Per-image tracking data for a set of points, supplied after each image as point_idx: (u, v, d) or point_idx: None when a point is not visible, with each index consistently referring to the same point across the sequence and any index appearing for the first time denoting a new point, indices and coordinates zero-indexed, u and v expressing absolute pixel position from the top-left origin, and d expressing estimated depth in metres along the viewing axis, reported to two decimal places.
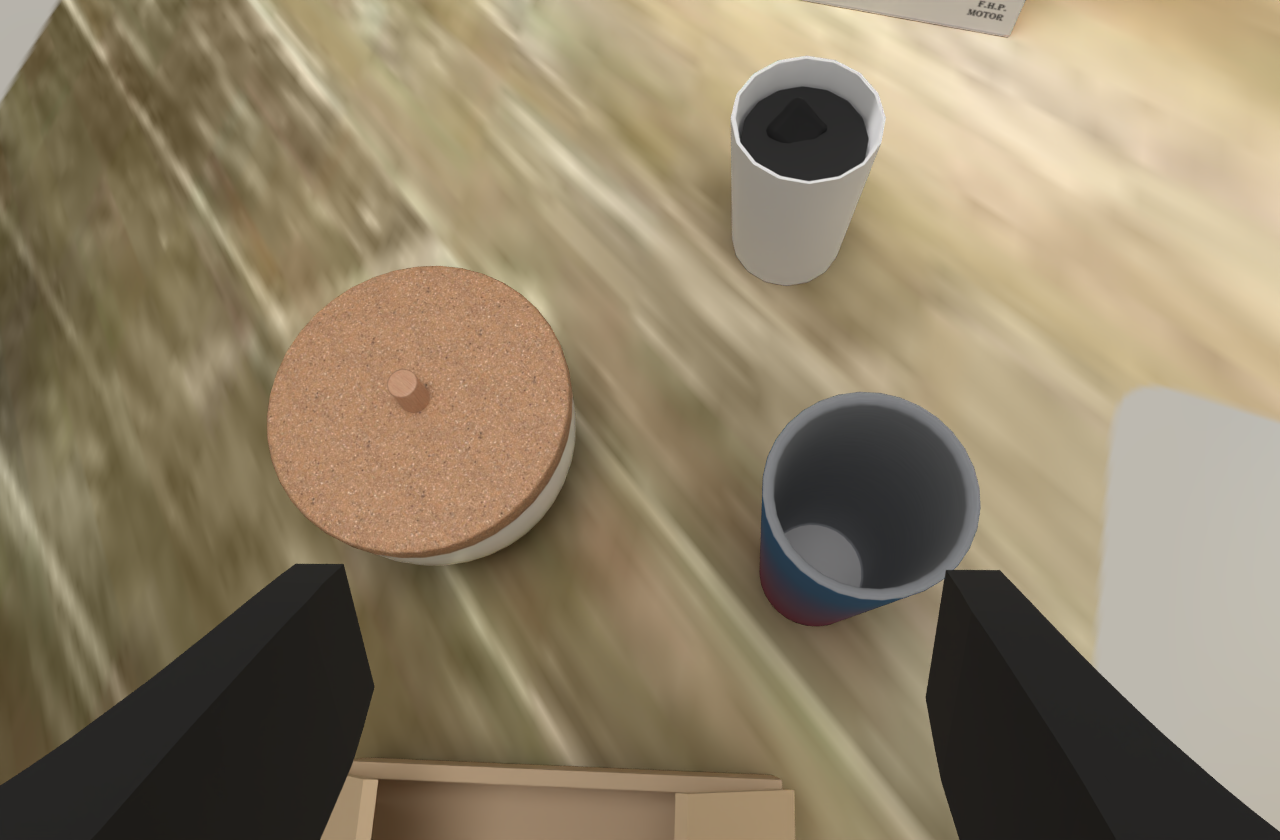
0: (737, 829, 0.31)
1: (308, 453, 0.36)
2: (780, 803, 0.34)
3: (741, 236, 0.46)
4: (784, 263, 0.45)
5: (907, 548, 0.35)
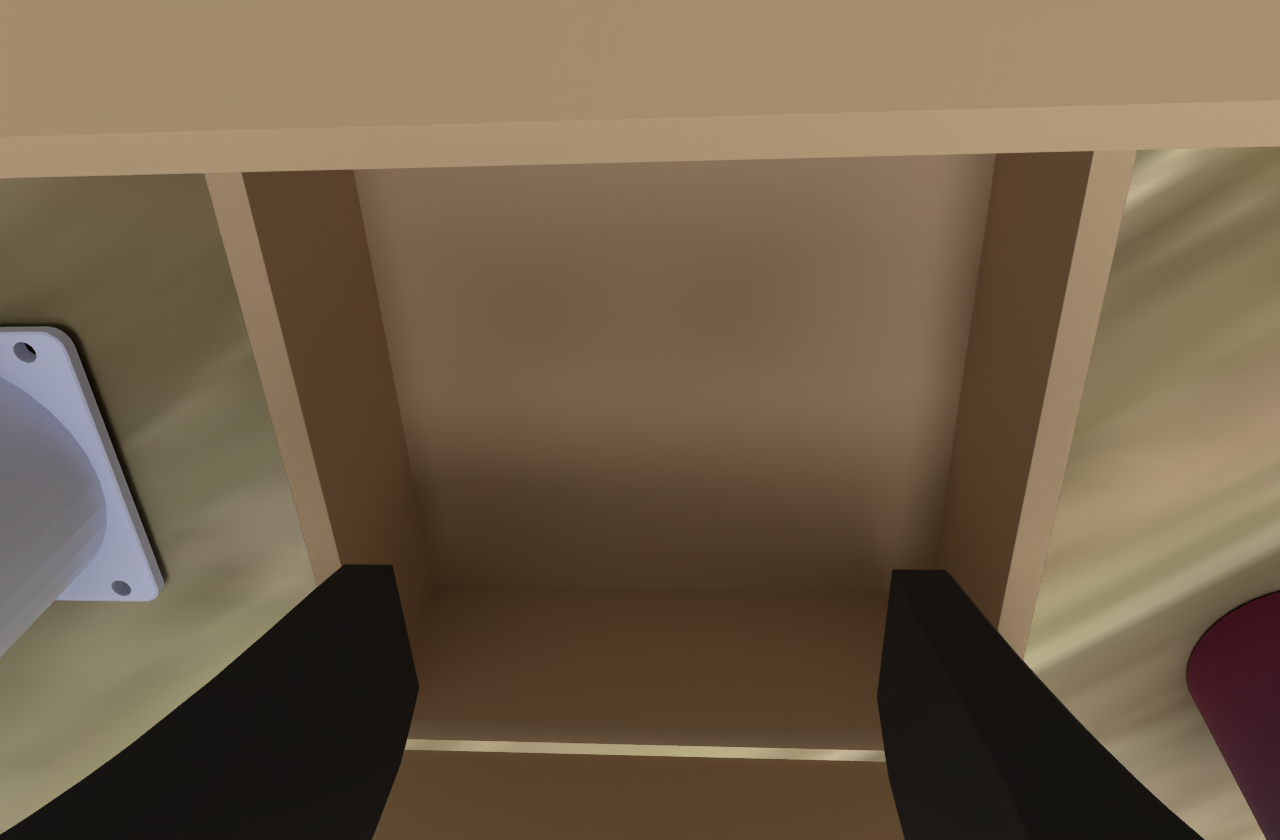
0: None
1: None
2: None
3: None
4: None
5: None
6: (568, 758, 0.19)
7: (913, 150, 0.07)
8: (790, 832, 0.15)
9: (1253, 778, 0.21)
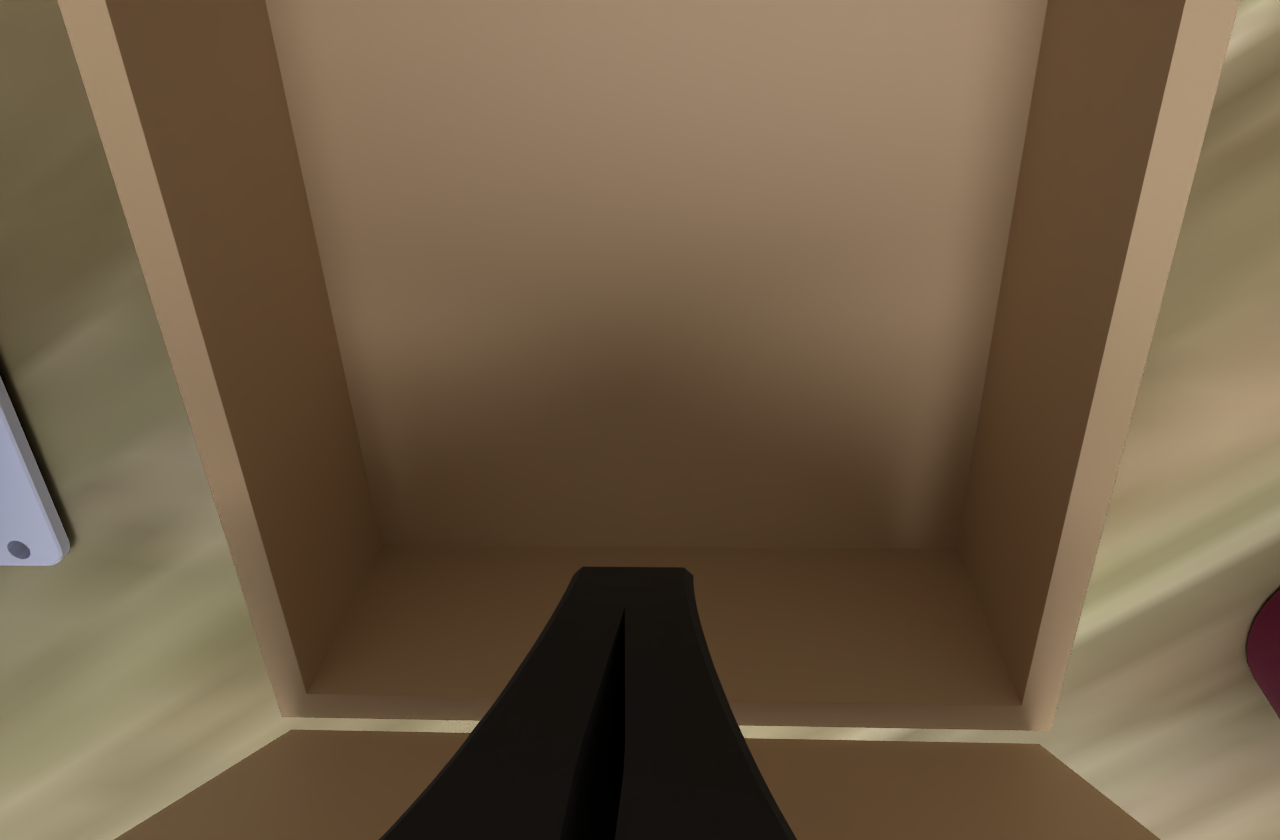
0: None
1: None
2: None
3: None
4: None
5: None
6: None
7: None
8: (805, 838, 0.12)
9: None
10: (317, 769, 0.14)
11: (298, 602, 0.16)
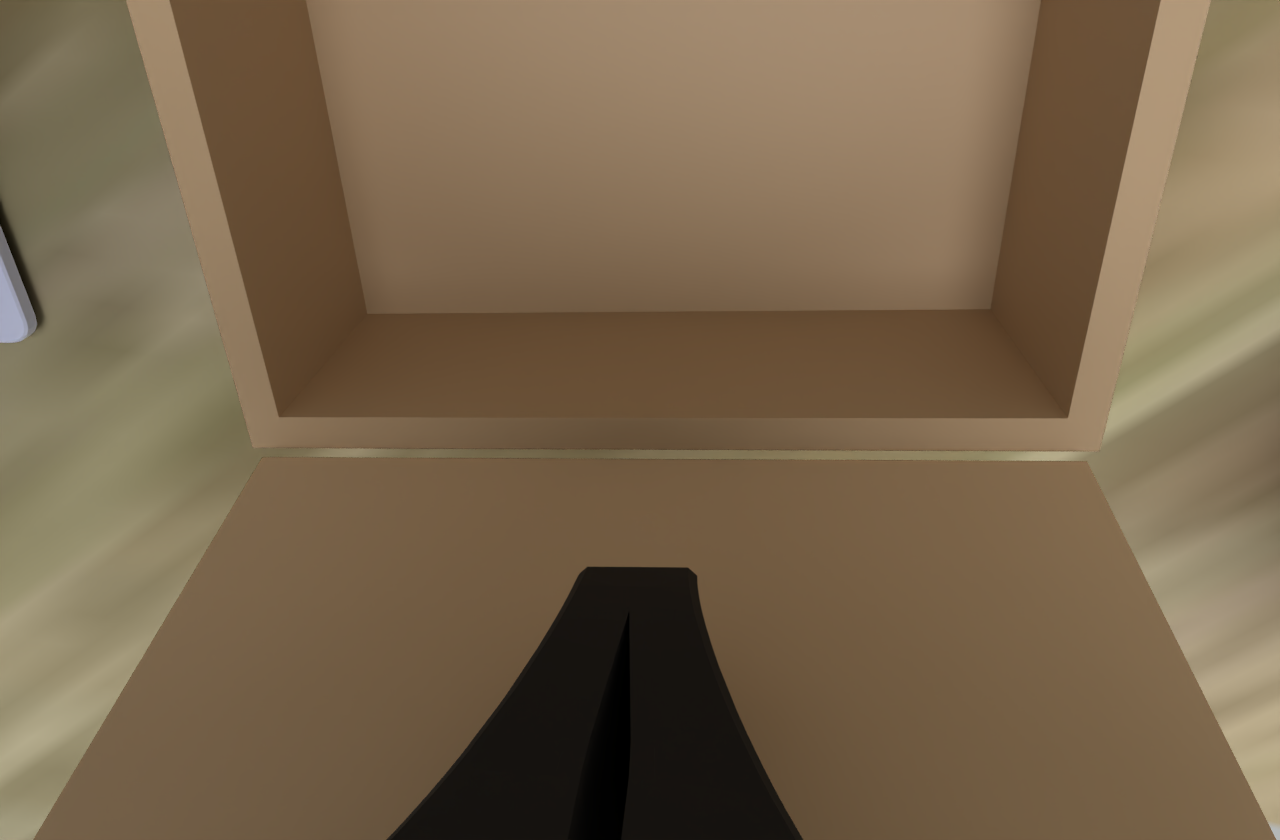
0: None
1: None
2: None
3: None
4: None
5: None
6: (525, 472, 0.15)
7: None
8: (820, 696, 0.11)
9: None
10: (298, 553, 0.13)
11: (269, 311, 0.15)
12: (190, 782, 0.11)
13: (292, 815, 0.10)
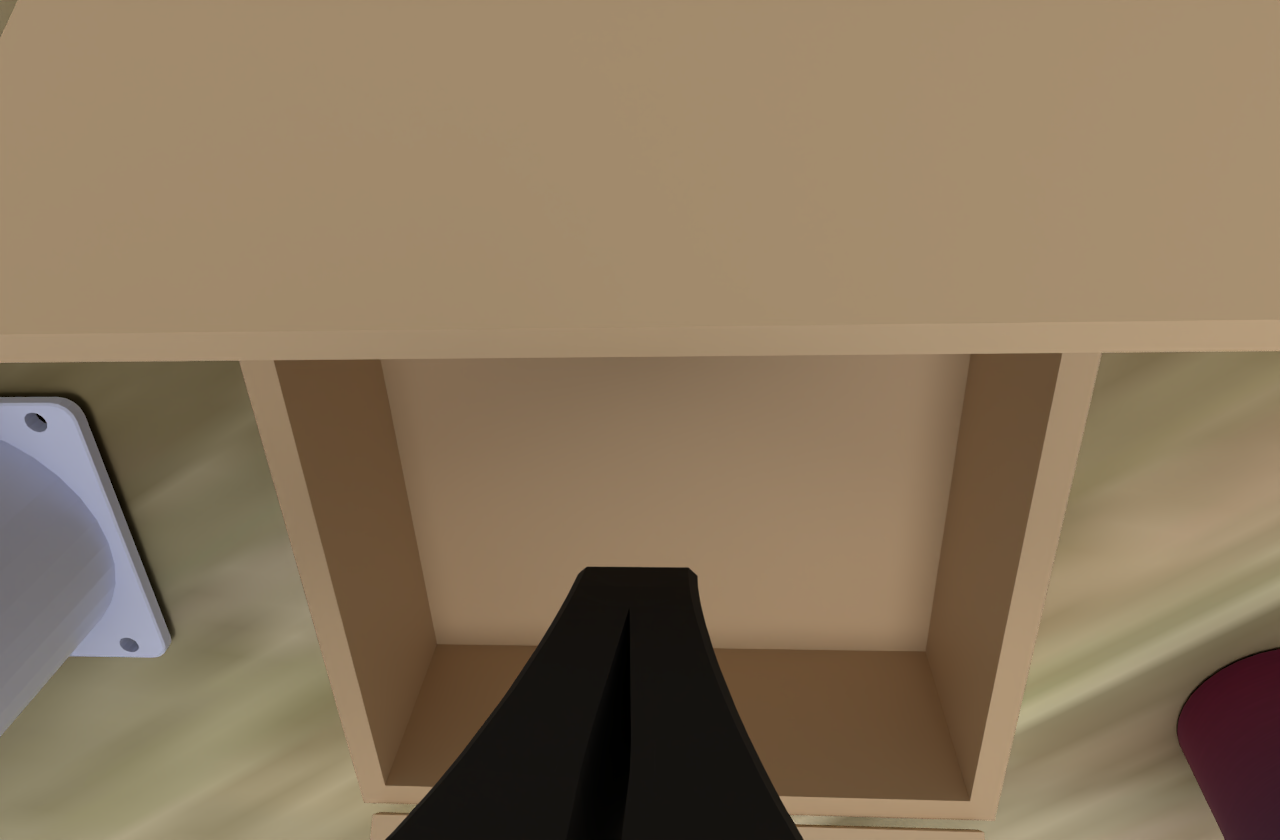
0: None
1: None
2: None
3: None
4: None
5: None
6: None
7: (899, 351, 0.08)
8: None
9: (1241, 839, 0.21)
10: None
11: (379, 712, 0.20)
12: None
13: None
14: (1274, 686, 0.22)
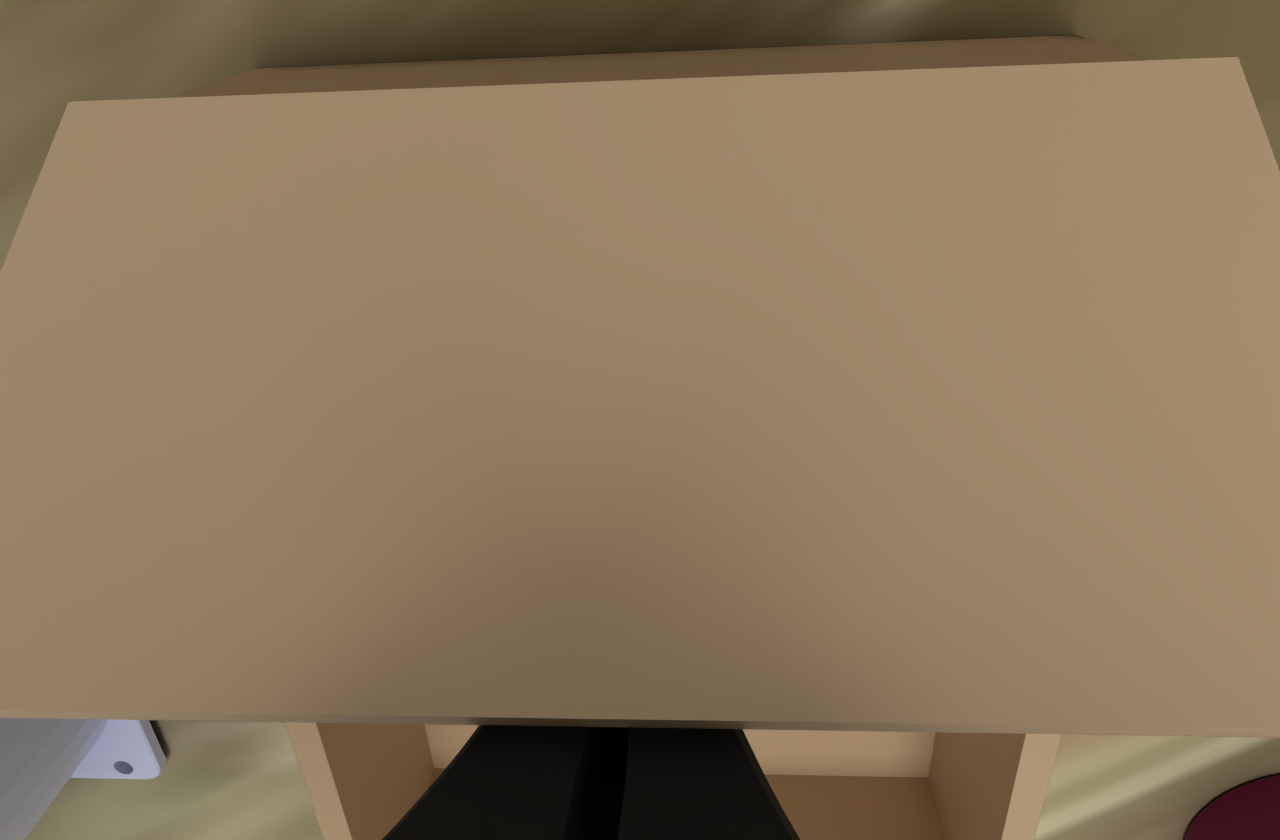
0: None
1: None
2: None
3: None
4: None
5: None
6: None
7: (903, 730, 0.08)
8: None
9: None
10: None
11: None
12: None
13: None
14: None
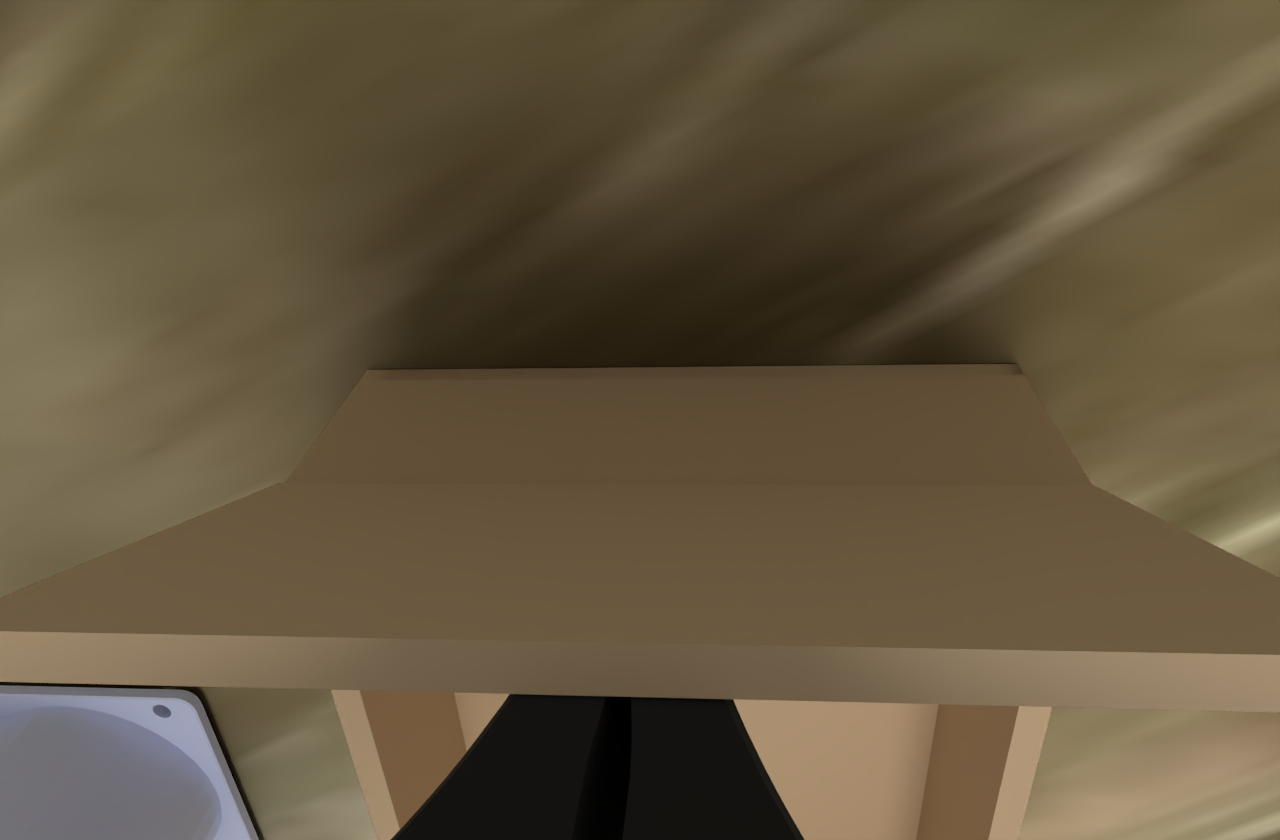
0: None
1: None
2: None
3: None
4: None
5: None
6: None
7: (911, 697, 0.08)
8: None
9: None
10: None
11: None
12: None
13: None
14: None
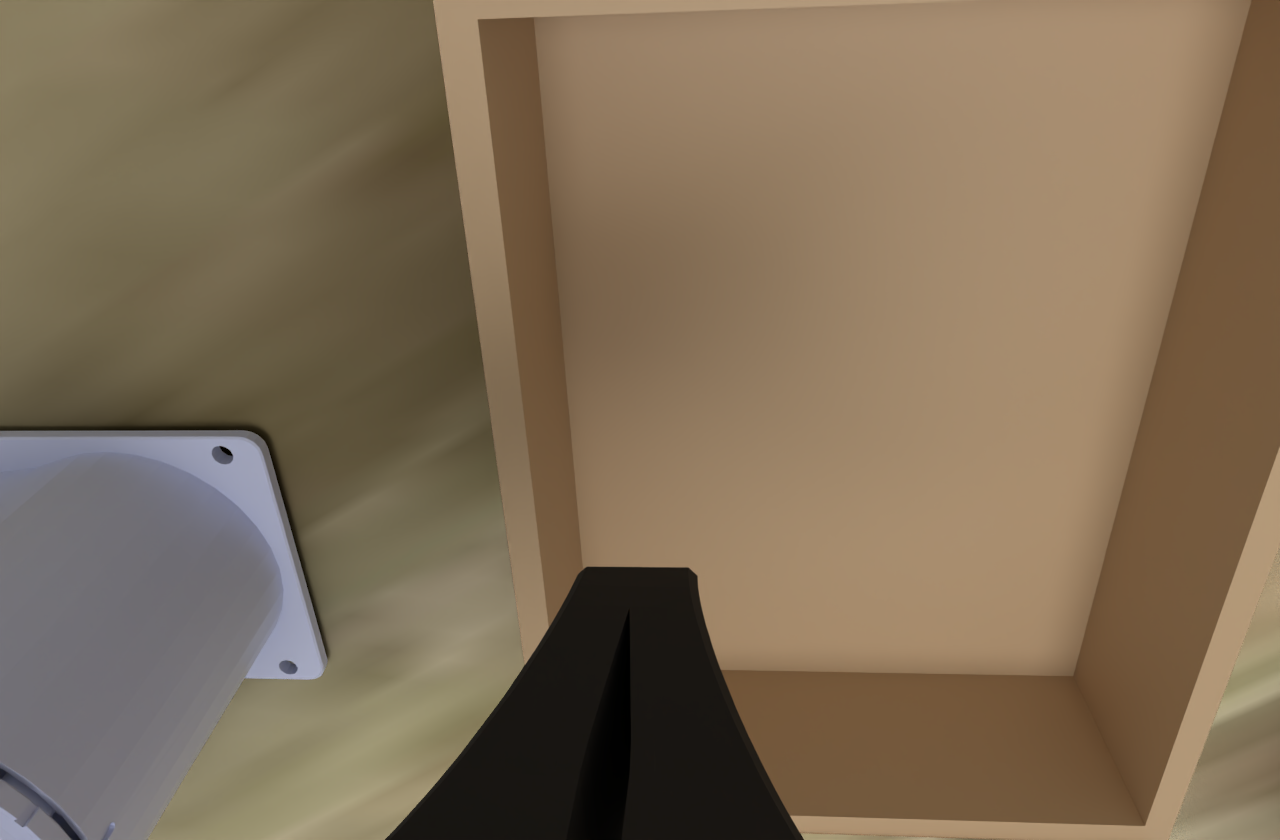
0: None
1: None
2: None
3: None
4: None
5: None
6: None
7: None
8: None
9: None
10: None
11: None
12: None
13: None
14: None
